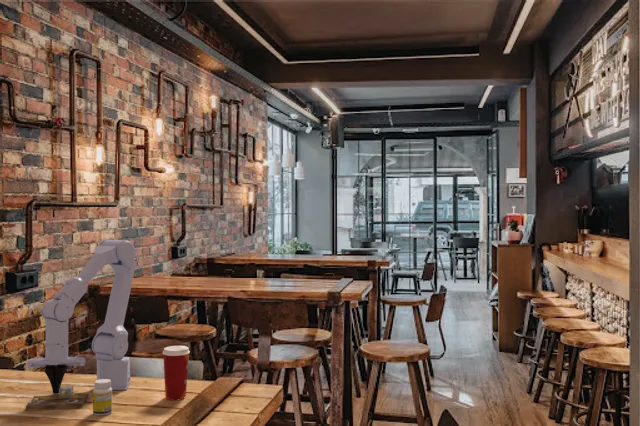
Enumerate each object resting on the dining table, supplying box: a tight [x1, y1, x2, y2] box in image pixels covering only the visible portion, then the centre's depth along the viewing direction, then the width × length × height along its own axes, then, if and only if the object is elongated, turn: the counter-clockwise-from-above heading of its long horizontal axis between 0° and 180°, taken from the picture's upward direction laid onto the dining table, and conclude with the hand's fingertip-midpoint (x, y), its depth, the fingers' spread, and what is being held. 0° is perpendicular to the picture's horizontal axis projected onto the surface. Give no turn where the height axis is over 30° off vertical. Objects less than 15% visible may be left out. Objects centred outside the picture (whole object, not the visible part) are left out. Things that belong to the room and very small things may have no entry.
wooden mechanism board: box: [25, 392, 90, 411], centre depth 168 cm, size 14×9×2 cm, turn 100°
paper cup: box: [161, 345, 191, 401], centre depth 175 cm, size 8×8×14 cm
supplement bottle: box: [92, 379, 113, 417], centre depth 161 cm, size 5×5×8 cm
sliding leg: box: [58, 384, 74, 399], centre depth 168 cm, size 3×7×3 cm, turn 10°
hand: (56, 392), depth 169 cm, fingers closed
